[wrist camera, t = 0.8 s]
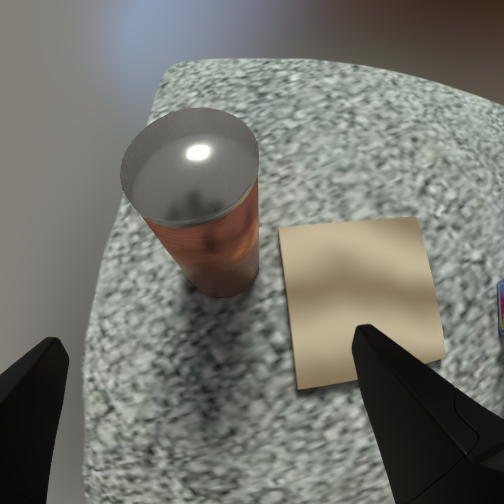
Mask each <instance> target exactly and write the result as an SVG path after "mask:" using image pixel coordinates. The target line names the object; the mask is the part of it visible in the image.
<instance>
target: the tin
mask: <svg viewBox="0 0 504 504" xmlns="http://www.w3.org/2000/svg"><path fill="white" fill-rule="evenodd" d="M258 169H259V150H258V145H257V141H256V139H255V136H254V135H253V133H252V131H251V130H250V129H249V127H248V126H247V125H246V124H245V123H244V122H242V121H241V120H240V119H238V118H237V117H235V116H233V115H231V114H229V113H227V112H224V111H221V110H216V109H210V108H191V109H185V110H180V111H176V112H173V113H170V114H168V115H165V116H163V117H161V118H159V119H157V120H156V121H154V122H152V123H151V124H149V125H148V126H147V127H146V128H144V129H143V130H142V131H141V132H140V133H139V134H138V135H137V136H136V138H135V139H134V140H133V141H132V142H131V144H130V145H129V147H128V149H127V151H126V153H125V155H124V158H123V160H122V165H121V173H120V176H121V184H122V188H123V191H124V193H125V195H126V197H127V198H128V200H129V201H130V203H131V204H132V205H133V207H134V208H135V209H136V210H137V211H138V212H139V214H141V216H142V217H143V219H144V220H145V221H146V223H147V224H148V225H149V227H150V228H151V230H152V231H153V232H154V234H155V235H156V236H157V238H158V239H159V240H160V242H161V243H162V244H163V246H164V247H165V248H166V250H167V251H168V252H169V254H170V255H171V256H172V258H173V259H174V260H175V261H176V263H177V264H178V265H179V267H180V268H181V269H182V271H183V272H184V273H185V274H186V276H187V277H188V278H189V280H190V281H191V282H192V283H193V285H194V286H195V287H196V288H197V289H198V290H200V291H201V292H202V293H204V294H206V295H209V296H212V297H218V298H225V297H231V296H234V295H237V294H239V293H241V292H242V291H244V290H245V289H246V288H247V287H248V286H249V285H250V284H251V283H252V282H253V280H254V279H255V277H256V274H257V272H258V268H259V220H258Z"/></svg>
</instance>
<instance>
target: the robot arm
mask: <svg viewBox="0 0 504 504" xmlns="http://www.w3.org/2000/svg"><path fill="white" fill-rule="evenodd" d="M351 350H352V356H353V360H354V364H355V369H356V373H357V378H358V382H359V387H360V391H361V395H362V399H363V402H364V405H365V408H366V411H367V414H368V417H369V420H370V423H371V426H372V429H373V432H374V435H375V438H376V441H377V444H378V447H379V450H380V453H381V457H382V460H383V463H384V466H385V470H386V473H387V476H388V480H389V483H390V486H391V490H392V493H393V497H394V500H395V504H504V419H502V418H501V417H499V416H497V415H496V414H494V413H493V412H491V411H489V410H488V409H486V408H485V407H483V406H481V405H480V404H478V403H477V402H475V401H474V400H473V399H471V398H470V397H468V396H467V395H466V394H464V393H463V392H462V391H460V390H459V389H458V388H455V387H454V385H452V384H451V383H450V382H448V381H447V380H446V379H444V378H443V377H442V376H440V375H439V374H438V373H436V372H435V371H434V370H432V369H431V368H430V367H428V366H427V365H426V364H424V363H423V362H422V361H420V360H419V359H418V358H416V357H415V356H414V355H412V354H411V353H410V352H408V351H407V350H405V349H404V348H403V347H401V346H400V345H399V344H397V343H396V342H395V341H393V340H392V339H391V338H389V337H388V336H387V335H385V334H384V333H383V332H381V331H380V330H378V329H377V328H376V327H374V326H373V325H372V324H361V325H358V326H357V327H356V329H355V333H354V337H353V341H352V346H351ZM68 366H69V356H68V354H67V352H66V350H65V348H64V347H63V344H62V343H61V341H60V339H58V338H57V337H47V338H45V339H44V340H43V341H41V342H40V343H39V344H38V345H36V346H35V347H34V348H32V349H31V350H30V351H29V352H27V353H26V354H25V355H24V356H23V357H21V358H20V359H19V360H18V361H17V362H15V363H14V364H13V365H11V366H10V367H9V368H8V369H7V370H6V371H4V372H3V373H2V374H1V375H0V504H46V500H47V491H48V483H49V475H50V468H51V462H52V456H53V450H54V444H55V438H56V434H57V429H58V424H59V419H60V415H61V410H62V405H63V400H64V393H65V385H66V379H67V373H68Z"/></svg>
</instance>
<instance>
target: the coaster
mask: <svg viewBox="0 0 504 504" xmlns="http://www.w3.org/2000/svg"><path fill="white" fill-rule="evenodd" d="M278 237H279V244H280V251H281V259H282V267H283V274H284V282H285V290H286V298H287V306H288V314H289V323H290V331H291V340H292V349H293V358H294V367H295V376H296V386H297V389H306V388H312V387H319V386H325V385H331V384H337V383H343V382H348V381H353V380H358V378H357V373H356V369H355V364H354V360H353V356H352V350H351V346H352V341H353V337H354V333H355V329H356V327H357V326H358V325H361V324H372V325H373V326H374V327H376V328H377V329H378V330H380V331H381V332H383V333H384V334H385V335H387V336H388V337H389V338H391V339H392V340H393V341H395V342H396V343H397V344H399V345H400V346H401V347H403V348H404V349H405V350H407V351H408V352H410V353H411V354H412V355H414V356H415V357H416V358H418V359H419V360H420V361H422V362H423V363H424V364H426V363H429V362H433V361H436V360H439V359H443V358H446V352H445V344H444V337H443V331H442V325H441V319H440V313H439V308H438V303H437V298H436V293H435V288H434V283H433V279H432V274H431V270H430V266H429V262H428V258H427V254H426V250H425V246H424V243H423V239H422V235H421V232H420V228H419V225H418V222H417V218H416V217H403V218H389V219H376V220H363V221H350V222H338V223H326V224H314V225H303V226H291V227H280V228H278Z"/></svg>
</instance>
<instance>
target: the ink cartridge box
mask: <svg viewBox="0 0 504 504" xmlns="http://www.w3.org/2000/svg"><path fill="white" fill-rule="evenodd" d="M497 289H498V306H499V332H500V334H501V335H504V279H503V280H501V281H499V282H498V284H497Z"/></svg>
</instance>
